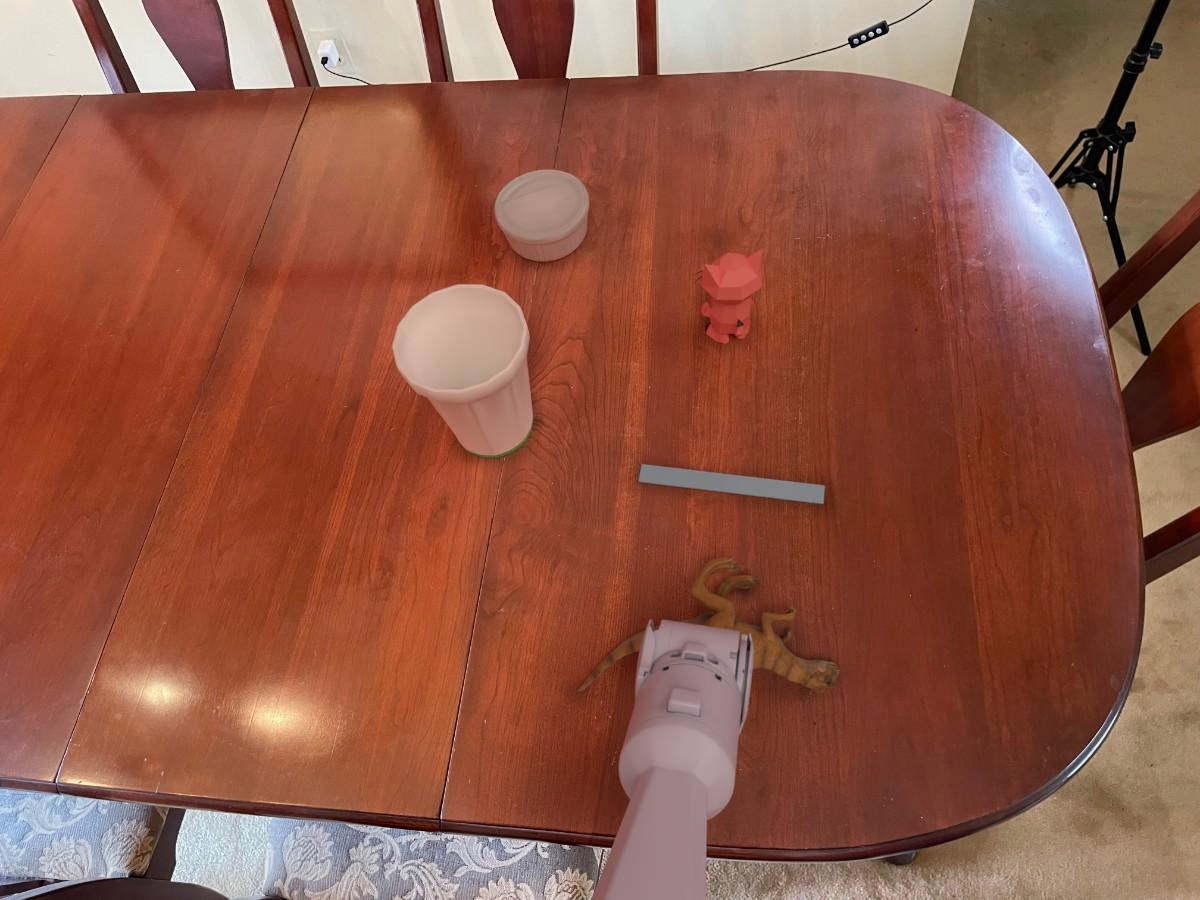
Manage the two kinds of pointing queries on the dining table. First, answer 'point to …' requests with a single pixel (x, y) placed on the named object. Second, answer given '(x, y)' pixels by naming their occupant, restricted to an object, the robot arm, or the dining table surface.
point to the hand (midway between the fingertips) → (696, 746)
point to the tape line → (732, 484)
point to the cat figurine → (731, 293)
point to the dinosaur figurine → (764, 639)
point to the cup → (470, 365)
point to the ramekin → (543, 214)
